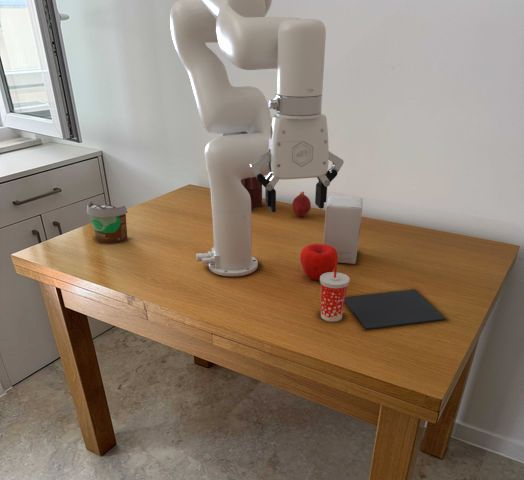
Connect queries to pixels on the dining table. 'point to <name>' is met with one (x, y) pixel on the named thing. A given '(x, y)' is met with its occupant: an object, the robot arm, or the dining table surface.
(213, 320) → the dining table surface
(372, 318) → the mat
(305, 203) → the onion
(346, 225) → the white product box
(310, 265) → the apple
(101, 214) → the food container
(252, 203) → the toy vending machine
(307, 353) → the dining table surface
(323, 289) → the beverage cup
